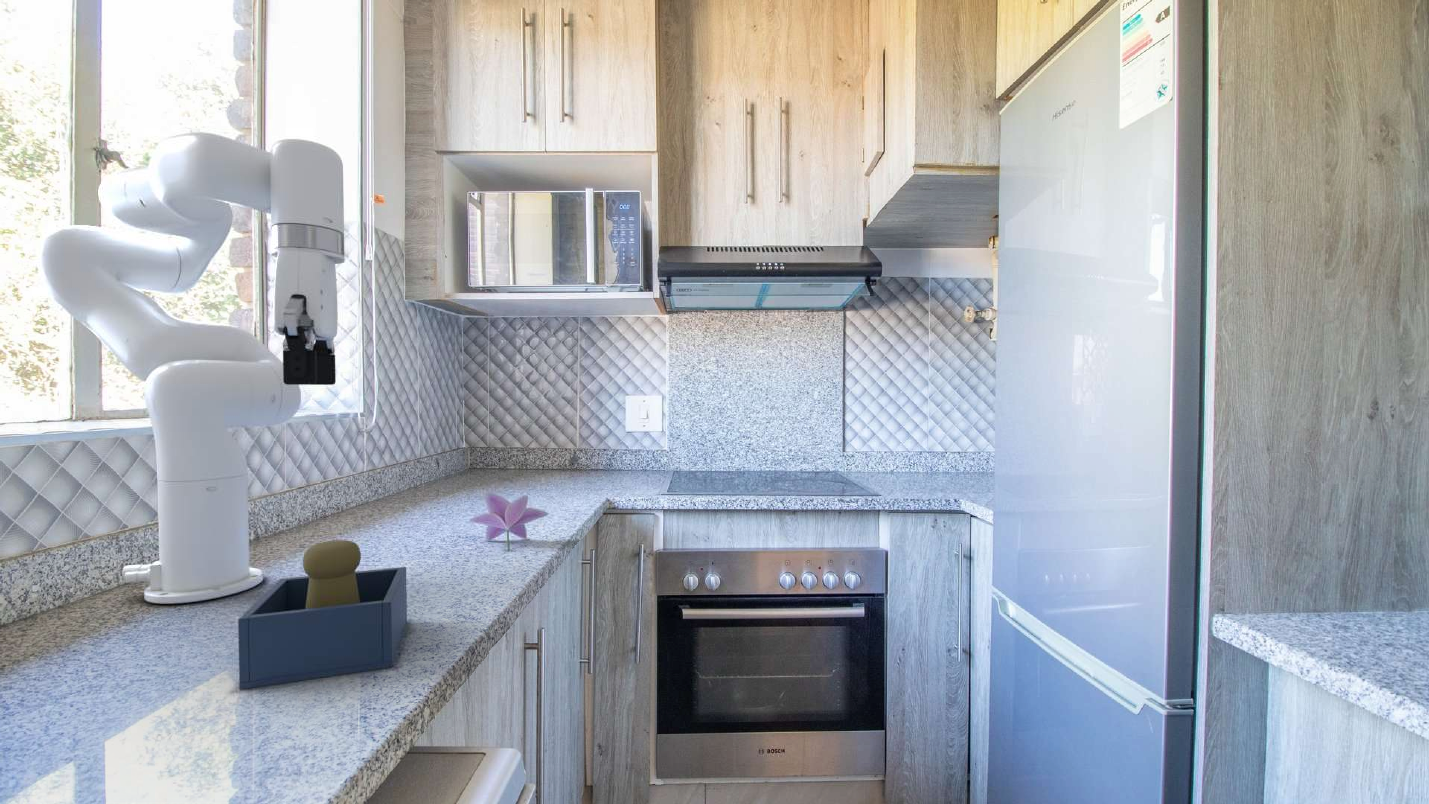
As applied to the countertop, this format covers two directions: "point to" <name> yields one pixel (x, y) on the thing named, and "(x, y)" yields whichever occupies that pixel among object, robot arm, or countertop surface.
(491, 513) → the lily
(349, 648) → the bin
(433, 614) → the countertop surface
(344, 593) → the cork
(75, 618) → the countertop surface
